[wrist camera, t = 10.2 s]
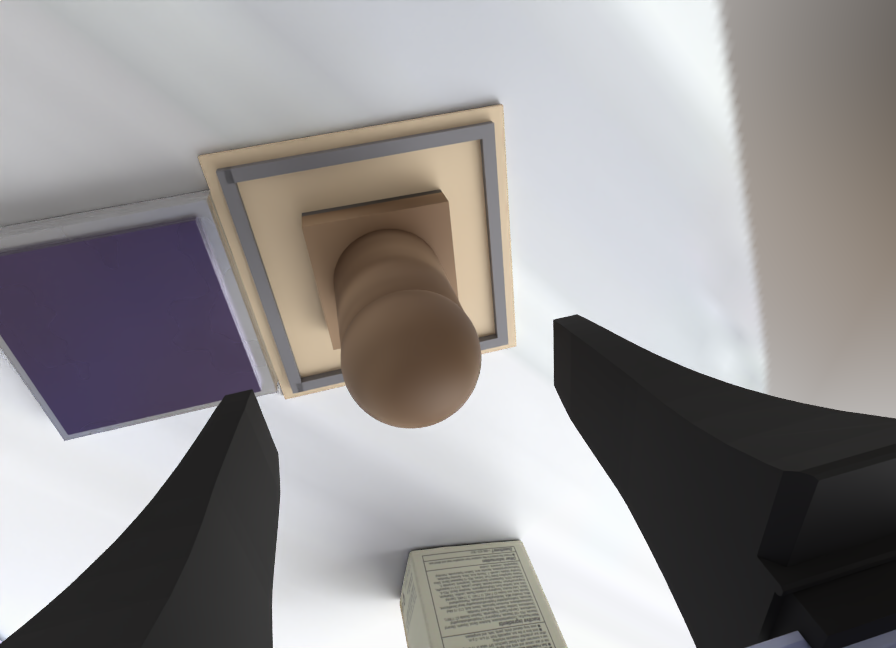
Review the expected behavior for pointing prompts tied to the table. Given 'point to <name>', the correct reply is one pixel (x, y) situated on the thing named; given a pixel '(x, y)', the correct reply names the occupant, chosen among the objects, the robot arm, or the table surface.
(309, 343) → the beige square tile
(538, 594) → the skincare box
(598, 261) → the table surface
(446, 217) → the stamp
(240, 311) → the ink pad
